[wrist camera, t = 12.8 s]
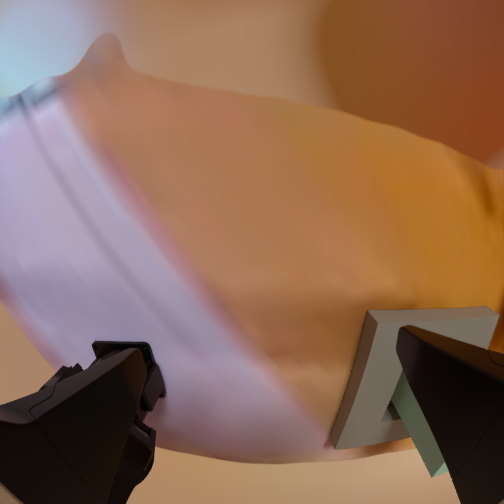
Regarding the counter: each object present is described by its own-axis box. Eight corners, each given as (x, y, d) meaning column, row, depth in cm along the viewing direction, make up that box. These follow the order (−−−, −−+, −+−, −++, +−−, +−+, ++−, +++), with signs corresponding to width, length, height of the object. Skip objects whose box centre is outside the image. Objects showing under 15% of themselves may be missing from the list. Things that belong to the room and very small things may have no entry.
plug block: (388, 396, 25) (431, 477, 13) (403, 359, 24) (460, 440, 12) (424, 390, 25) (471, 460, 13) (439, 354, 24) (499, 422, 12)
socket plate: (330, 434, 26) (334, 449, 23) (367, 310, 22) (377, 322, 20) (440, 415, 26) (447, 426, 23) (486, 306, 22) (499, 314, 20)
